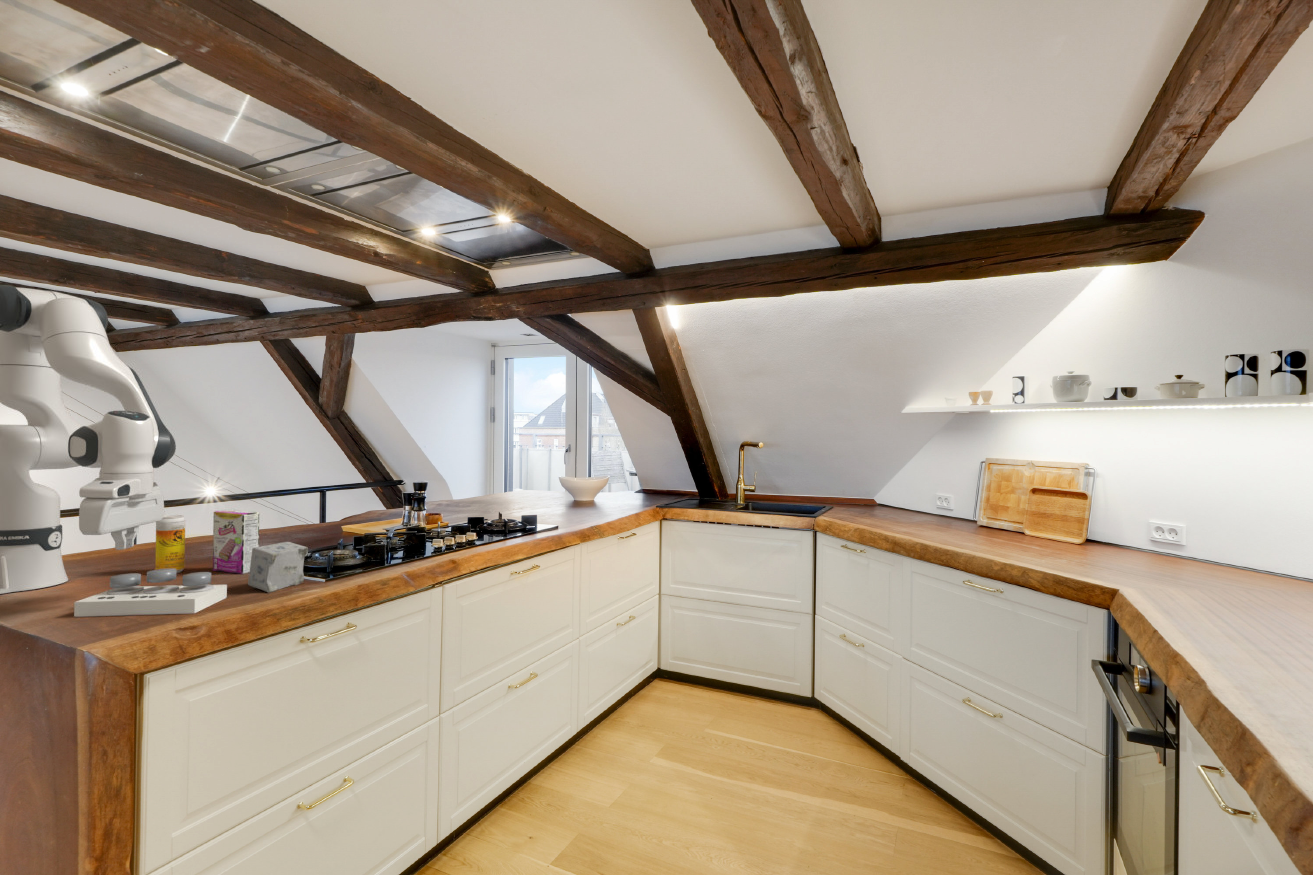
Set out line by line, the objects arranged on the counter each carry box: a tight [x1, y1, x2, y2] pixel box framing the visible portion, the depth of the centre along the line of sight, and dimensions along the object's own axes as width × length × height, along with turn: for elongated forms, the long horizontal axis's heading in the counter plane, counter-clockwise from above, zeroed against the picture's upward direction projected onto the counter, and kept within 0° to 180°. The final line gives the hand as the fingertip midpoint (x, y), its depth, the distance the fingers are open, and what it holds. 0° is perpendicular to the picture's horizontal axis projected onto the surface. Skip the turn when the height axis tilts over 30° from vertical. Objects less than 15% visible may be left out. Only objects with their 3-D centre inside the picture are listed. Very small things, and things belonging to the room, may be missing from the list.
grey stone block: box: [247, 541, 309, 594], centre depth 145 cm, size 10×8×10 cm
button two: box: [109, 572, 142, 589], centre depth 128 cm, size 5×5×2 cm
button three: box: [146, 568, 177, 584], centre depth 129 cm, size 5×5×2 cm
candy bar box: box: [212, 509, 260, 575], centre depth 160 cm, size 11×5×16 cm, turn 73°
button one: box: [182, 571, 212, 587], centre depth 130 cm, size 5×5×2 cm
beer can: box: [154, 514, 186, 574], centre depth 158 cm, size 6×6×15 cm
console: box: [73, 583, 228, 618], centre depth 127 cm, size 22×12×3 cm, turn 99°
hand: (124, 548), depth 128 cm, fingers closed
